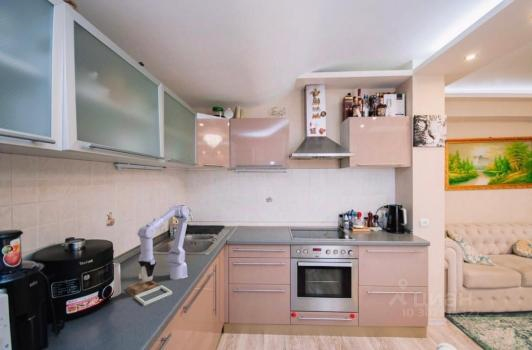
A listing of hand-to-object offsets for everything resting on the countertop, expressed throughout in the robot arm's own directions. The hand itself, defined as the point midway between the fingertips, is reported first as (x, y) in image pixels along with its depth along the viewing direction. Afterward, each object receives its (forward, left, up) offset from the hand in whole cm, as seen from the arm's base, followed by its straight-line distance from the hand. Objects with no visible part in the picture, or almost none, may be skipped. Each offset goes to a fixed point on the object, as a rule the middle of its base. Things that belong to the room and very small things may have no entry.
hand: (147, 274), depth 126 cm
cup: (+13, -14, -10) cm, 21 cm away
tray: (0, +6, -10) cm, 12 cm away
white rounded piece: (0, 0, -2) cm, 2 cm away
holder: (0, -7, -10) cm, 12 cm away
